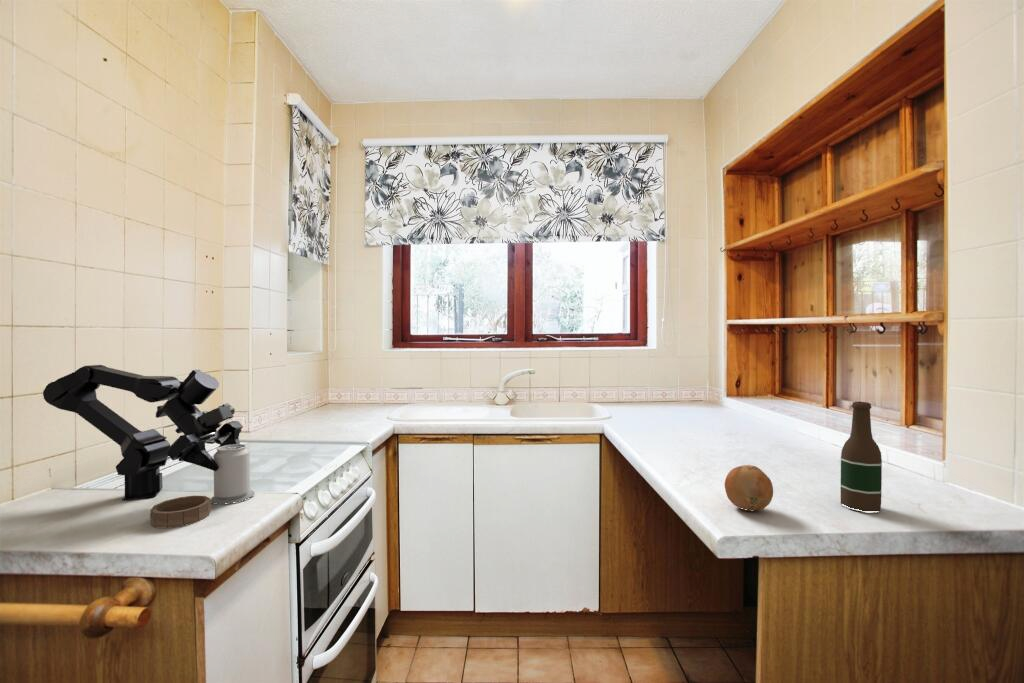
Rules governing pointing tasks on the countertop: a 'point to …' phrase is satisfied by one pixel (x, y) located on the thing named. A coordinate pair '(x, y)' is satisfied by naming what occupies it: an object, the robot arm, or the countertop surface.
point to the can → (232, 472)
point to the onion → (749, 487)
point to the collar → (180, 511)
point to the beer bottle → (861, 464)
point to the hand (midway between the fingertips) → (231, 464)
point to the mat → (219, 501)
